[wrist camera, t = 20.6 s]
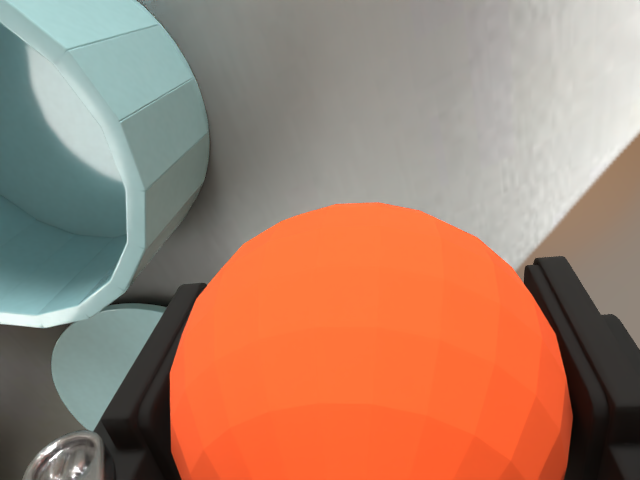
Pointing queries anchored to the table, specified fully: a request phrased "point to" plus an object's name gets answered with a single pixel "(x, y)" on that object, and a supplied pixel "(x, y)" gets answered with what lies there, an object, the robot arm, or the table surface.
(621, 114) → the table surface
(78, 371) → the lid
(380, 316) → the clementine
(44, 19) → the pot
